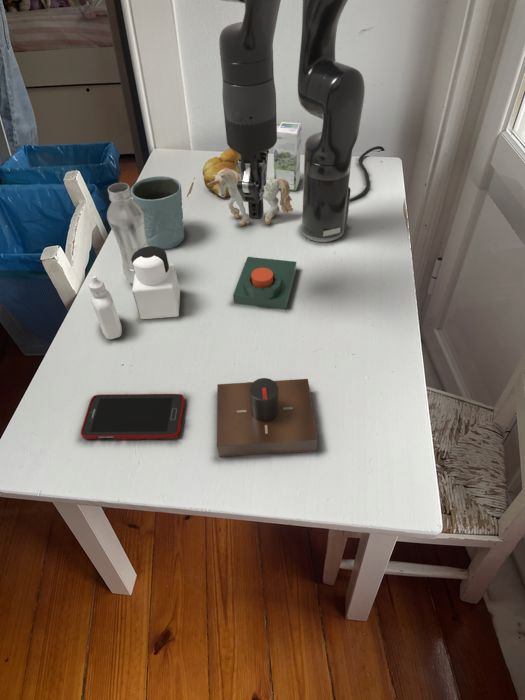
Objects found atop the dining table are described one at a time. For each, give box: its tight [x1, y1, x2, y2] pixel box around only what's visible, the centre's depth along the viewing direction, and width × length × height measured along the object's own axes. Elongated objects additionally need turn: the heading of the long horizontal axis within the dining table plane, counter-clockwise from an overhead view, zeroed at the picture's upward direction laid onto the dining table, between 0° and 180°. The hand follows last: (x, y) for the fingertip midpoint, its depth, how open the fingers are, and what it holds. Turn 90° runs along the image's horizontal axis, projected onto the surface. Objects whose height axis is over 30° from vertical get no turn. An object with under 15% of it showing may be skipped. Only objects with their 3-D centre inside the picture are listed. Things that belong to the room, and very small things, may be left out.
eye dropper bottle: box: [88, 275, 123, 340], centre depth 83 cm, size 4×6×12 cm
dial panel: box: [216, 378, 318, 458], centre depth 72 cm, size 14×11×3 cm
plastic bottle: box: [106, 182, 149, 285], centre depth 90 cm, size 6×7×20 cm
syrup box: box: [273, 121, 302, 192], centre depth 116 cm, size 6×6×14 cm
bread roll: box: [202, 147, 241, 197], centre depth 119 cm, size 13×10×8 cm
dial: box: [250, 377, 278, 421], centre depth 69 cm, size 4×4×5 cm
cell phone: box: [80, 393, 185, 440], centre depth 74 cm, size 8×15×1 cm, turn 89°
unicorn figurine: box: [208, 168, 294, 227], centre depth 106 cm, size 7×20×13 cm, turn 113°
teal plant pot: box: [130, 175, 185, 250], centre depth 103 cm, size 10×10×12 cm
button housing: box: [232, 256, 297, 310], centre depth 93 cm, size 12×10×4 cm
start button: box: [251, 268, 273, 288], centre depth 89 cm, size 4×4×2 cm
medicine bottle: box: [131, 246, 181, 320], centre depth 87 cm, size 7×7×12 cm
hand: (256, 216), depth 82 cm, fingers closed
